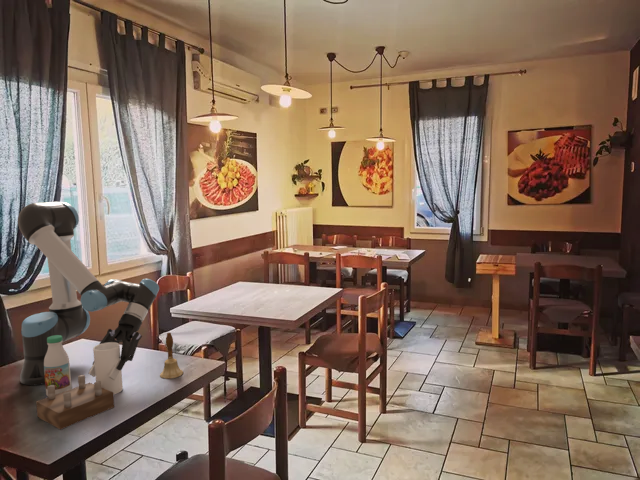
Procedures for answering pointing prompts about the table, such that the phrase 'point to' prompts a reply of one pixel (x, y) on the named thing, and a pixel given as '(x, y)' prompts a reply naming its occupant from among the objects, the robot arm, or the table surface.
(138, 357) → the table surface
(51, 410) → the riser
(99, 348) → the cup
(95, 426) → the table surface
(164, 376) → the hand bell
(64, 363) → the milk bottle
